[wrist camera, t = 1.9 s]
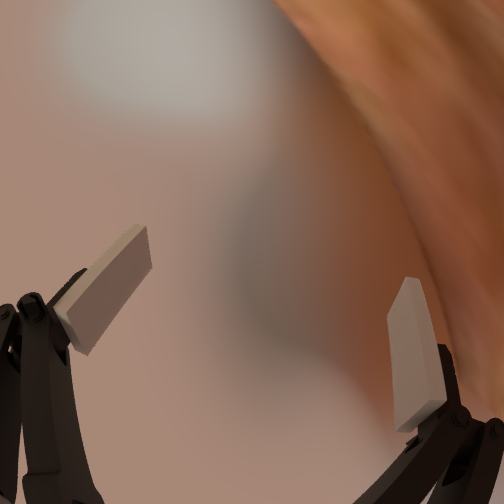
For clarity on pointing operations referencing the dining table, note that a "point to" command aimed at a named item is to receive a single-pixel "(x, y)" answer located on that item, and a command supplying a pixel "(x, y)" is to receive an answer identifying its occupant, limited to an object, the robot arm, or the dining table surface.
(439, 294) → the dining table surface
